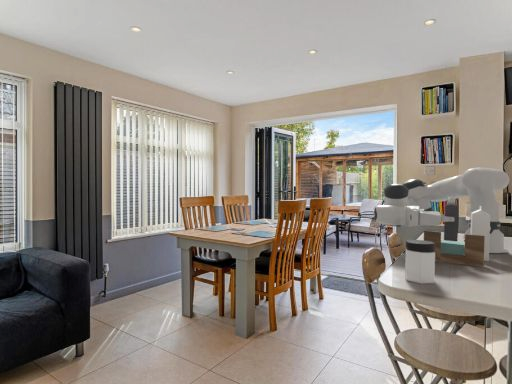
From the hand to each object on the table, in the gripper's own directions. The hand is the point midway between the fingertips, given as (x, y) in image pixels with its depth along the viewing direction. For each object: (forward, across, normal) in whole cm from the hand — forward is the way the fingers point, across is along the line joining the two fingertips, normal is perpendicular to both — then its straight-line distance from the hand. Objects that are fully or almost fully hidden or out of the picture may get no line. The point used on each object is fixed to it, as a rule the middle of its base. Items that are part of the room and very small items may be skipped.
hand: (453, 218), depth 126 cm
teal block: (0, -4, -17) cm, 18 cm away
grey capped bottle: (-1, 0, -9) cm, 9 cm away
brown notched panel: (0, +2, -17) cm, 17 cm away
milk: (+10, -12, -17) cm, 23 cm away
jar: (-11, +36, -17) cm, 41 cm away
